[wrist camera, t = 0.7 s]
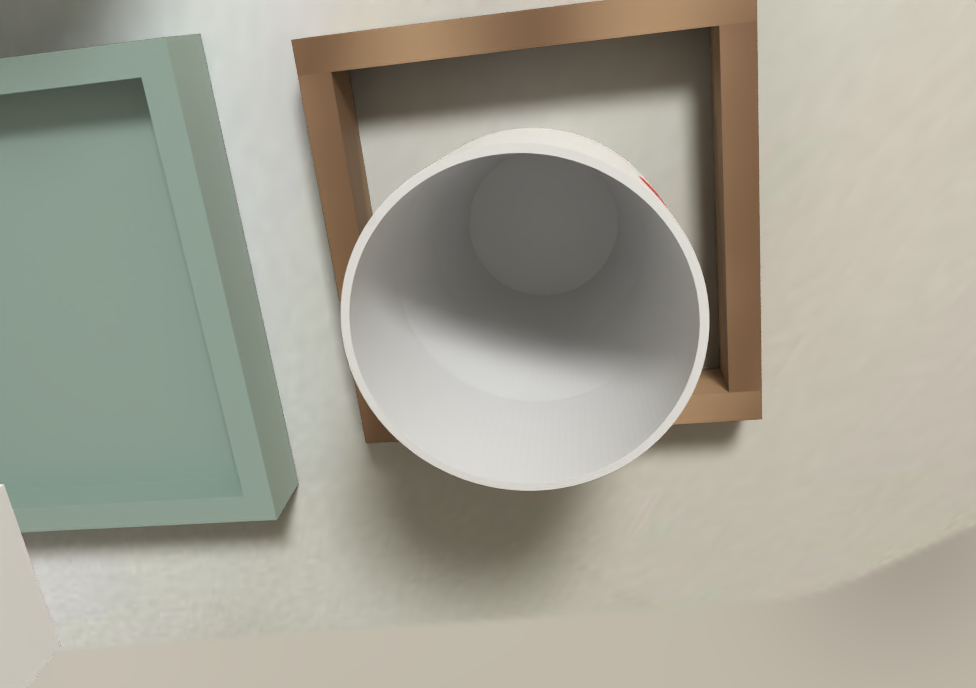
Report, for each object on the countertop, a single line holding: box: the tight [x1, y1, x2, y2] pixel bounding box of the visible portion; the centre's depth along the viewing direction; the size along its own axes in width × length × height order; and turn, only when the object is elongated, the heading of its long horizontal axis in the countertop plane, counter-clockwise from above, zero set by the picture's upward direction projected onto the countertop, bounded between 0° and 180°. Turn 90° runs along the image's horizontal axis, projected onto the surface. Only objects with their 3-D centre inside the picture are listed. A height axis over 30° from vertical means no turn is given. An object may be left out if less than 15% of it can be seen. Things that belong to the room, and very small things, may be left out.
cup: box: [341, 128, 709, 491], centre depth 24 cm, size 8×8×10 cm
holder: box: [291, 0, 762, 443], centre depth 28 cm, size 13×13×2 cm
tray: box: [0, 34, 298, 533], centre depth 31 cm, size 16×16×2 cm
